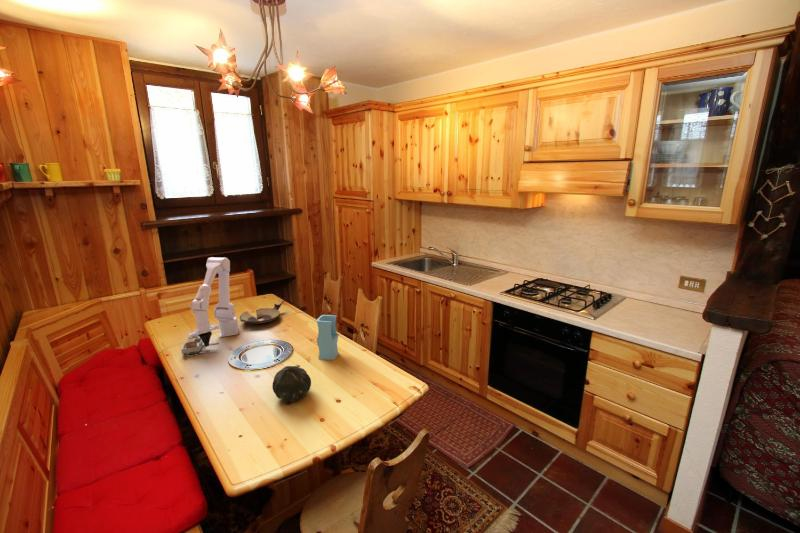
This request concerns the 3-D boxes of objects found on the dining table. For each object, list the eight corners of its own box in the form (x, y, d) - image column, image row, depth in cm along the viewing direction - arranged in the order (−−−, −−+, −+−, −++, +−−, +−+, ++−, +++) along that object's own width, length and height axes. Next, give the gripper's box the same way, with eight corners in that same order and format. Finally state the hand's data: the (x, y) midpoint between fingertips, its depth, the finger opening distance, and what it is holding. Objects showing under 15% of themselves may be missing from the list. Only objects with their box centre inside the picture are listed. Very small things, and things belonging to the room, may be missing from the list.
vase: (333, 360, 175) (330, 322, 170) (318, 359, 177) (315, 321, 172) (339, 352, 183) (336, 315, 177) (324, 351, 184) (321, 314, 179)
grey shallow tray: (203, 343, 193) (202, 337, 192) (200, 353, 183) (199, 346, 182) (186, 346, 190) (185, 339, 189) (182, 356, 180) (181, 349, 179)
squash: (301, 367, 159) (279, 354, 148) (323, 381, 150) (301, 367, 139) (281, 398, 154) (257, 386, 143) (303, 413, 145) (279, 402, 134)
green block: (199, 340, 198) (197, 333, 197) (197, 343, 194) (196, 336, 193) (190, 341, 197) (189, 334, 195) (189, 345, 193) (188, 337, 192)
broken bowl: (234, 321, 222) (232, 309, 220) (281, 308, 241) (280, 298, 239) (246, 333, 206) (244, 320, 204) (296, 319, 224) (295, 307, 222)
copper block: (197, 346, 186) (195, 338, 185) (195, 349, 183) (194, 341, 181) (188, 347, 185) (186, 339, 184) (186, 351, 181) (185, 342, 180)
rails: (218, 342, 195) (218, 342, 195) (216, 351, 186) (216, 350, 186) (187, 347, 190) (187, 347, 190) (183, 356, 181) (183, 356, 181)
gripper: (213, 315, 193) (217, 338, 196) (183, 324, 182) (188, 348, 185) (219, 318, 188) (223, 341, 192) (190, 328, 177) (194, 353, 181)
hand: (206, 345), depth 188 cm, fingers closed
